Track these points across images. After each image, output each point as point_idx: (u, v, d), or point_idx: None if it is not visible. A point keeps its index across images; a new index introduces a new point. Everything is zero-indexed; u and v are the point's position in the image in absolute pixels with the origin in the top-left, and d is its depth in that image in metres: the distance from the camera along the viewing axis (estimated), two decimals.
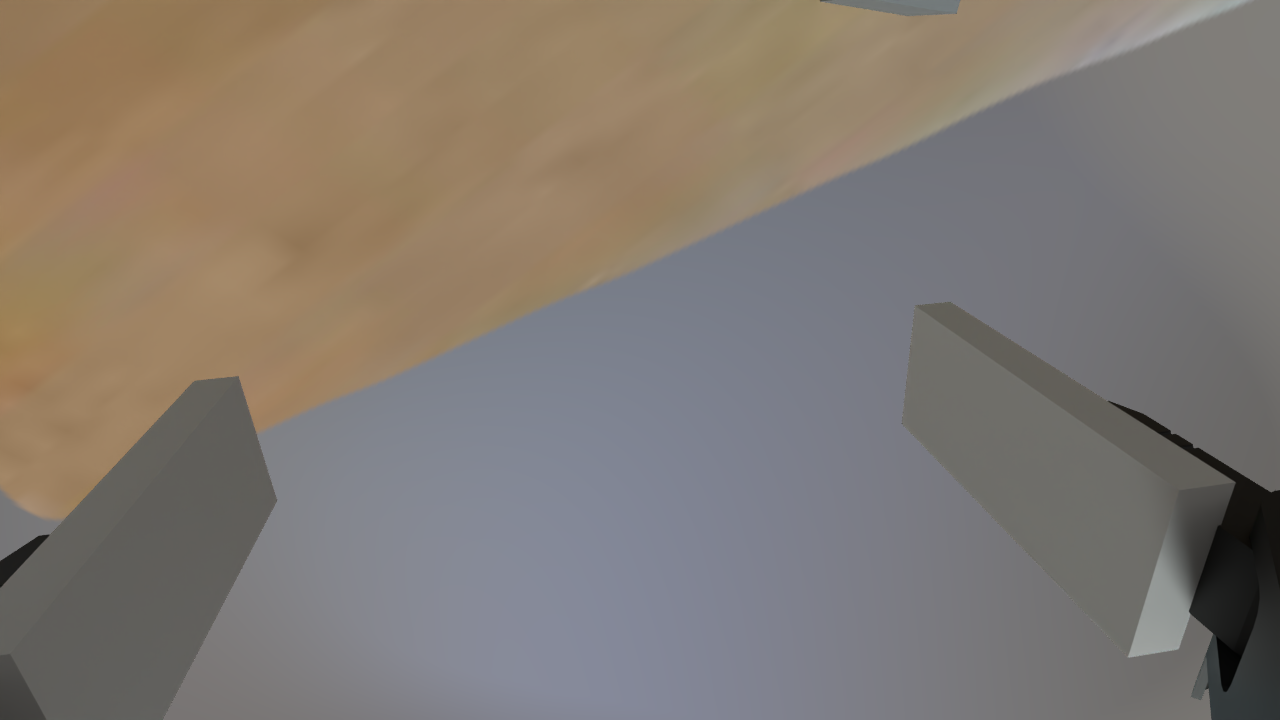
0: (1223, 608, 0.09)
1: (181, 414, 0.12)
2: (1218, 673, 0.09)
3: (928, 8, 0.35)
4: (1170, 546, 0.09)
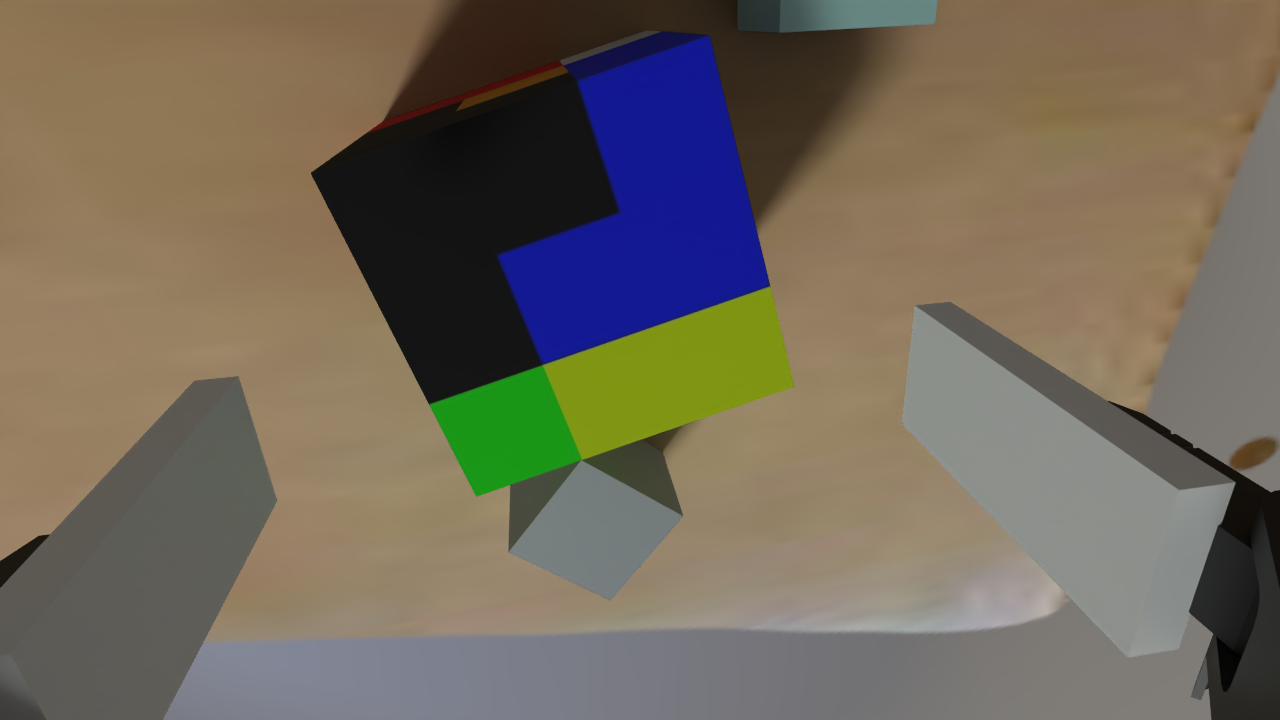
0: (1223, 608, 0.09)
1: (181, 415, 0.12)
2: (1218, 673, 0.09)
3: (582, 585, 0.30)
4: (1170, 546, 0.09)
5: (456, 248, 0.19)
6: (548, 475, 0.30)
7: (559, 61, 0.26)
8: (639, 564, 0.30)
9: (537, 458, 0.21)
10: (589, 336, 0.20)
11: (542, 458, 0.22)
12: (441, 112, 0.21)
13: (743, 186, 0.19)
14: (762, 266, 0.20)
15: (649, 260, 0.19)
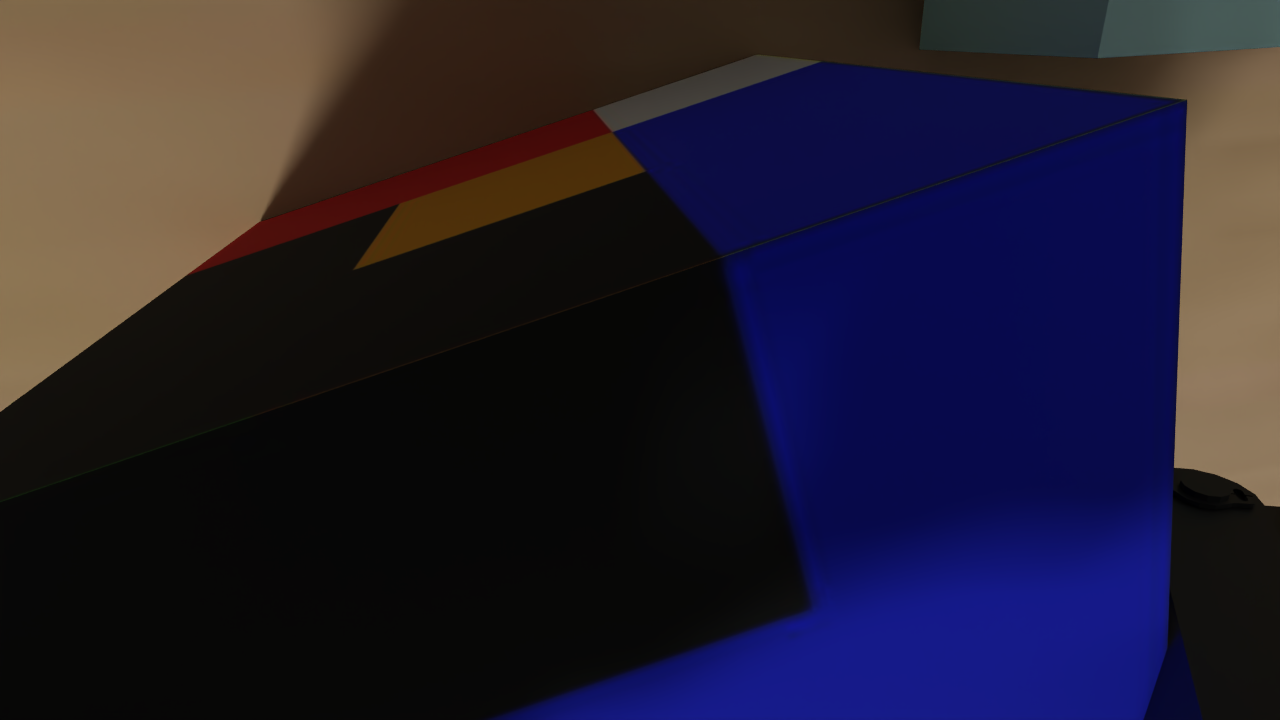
0: None
1: None
2: None
3: None
4: None
5: None
6: None
7: (595, 113, 0.13)
8: None
9: None
10: None
11: None
12: (332, 252, 0.09)
13: (1163, 522, 0.07)
14: None
15: (875, 706, 0.07)
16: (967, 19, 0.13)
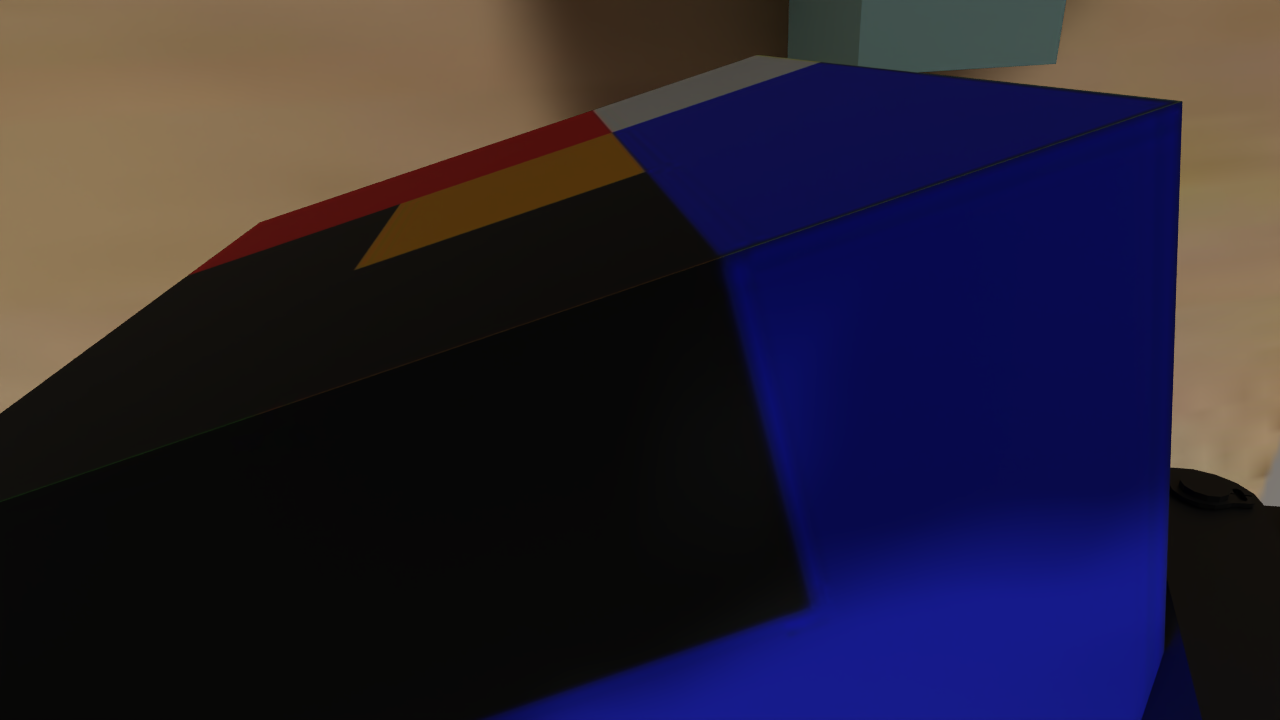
0: None
1: None
2: None
3: None
4: None
5: None
6: None
7: (595, 114, 0.13)
8: None
9: None
10: None
11: None
12: (333, 252, 0.09)
13: (1160, 521, 0.07)
14: None
15: (875, 704, 0.07)
16: (807, 51, 0.20)
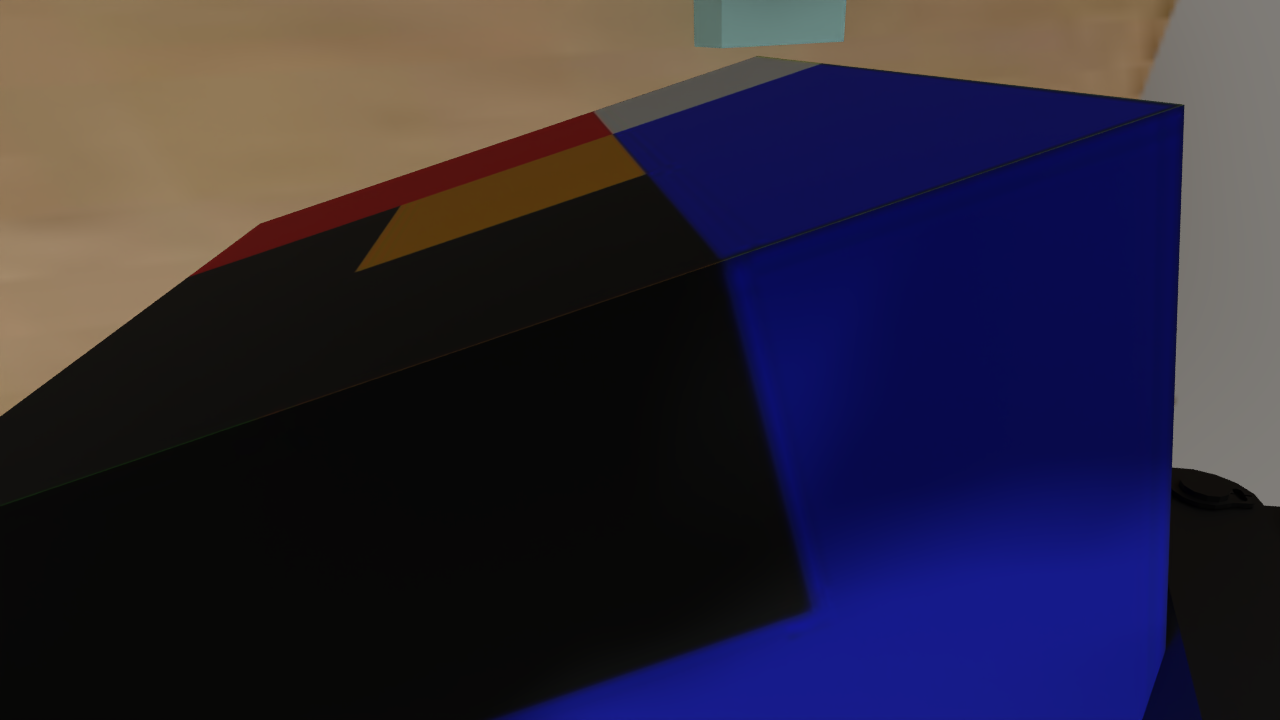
0: None
1: None
2: None
3: None
4: None
5: None
6: None
7: (596, 115, 0.13)
8: None
9: None
10: None
11: None
12: (334, 254, 0.09)
13: (1161, 524, 0.07)
14: None
15: (875, 706, 0.07)
16: (702, 33, 0.31)
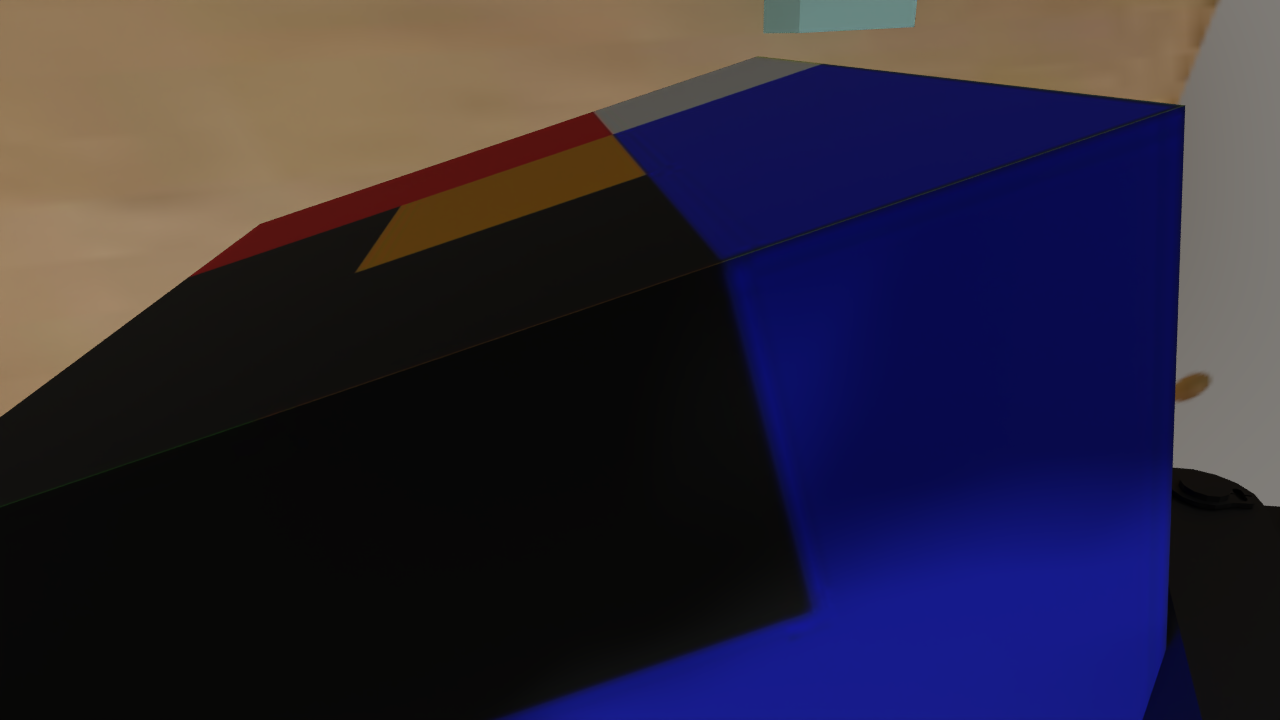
0: None
1: None
2: None
3: None
4: None
5: None
6: None
7: (596, 115, 0.13)
8: None
9: None
10: None
11: None
12: (334, 255, 0.09)
13: (1162, 525, 0.07)
14: None
15: (875, 708, 0.07)
16: (774, 20, 0.33)
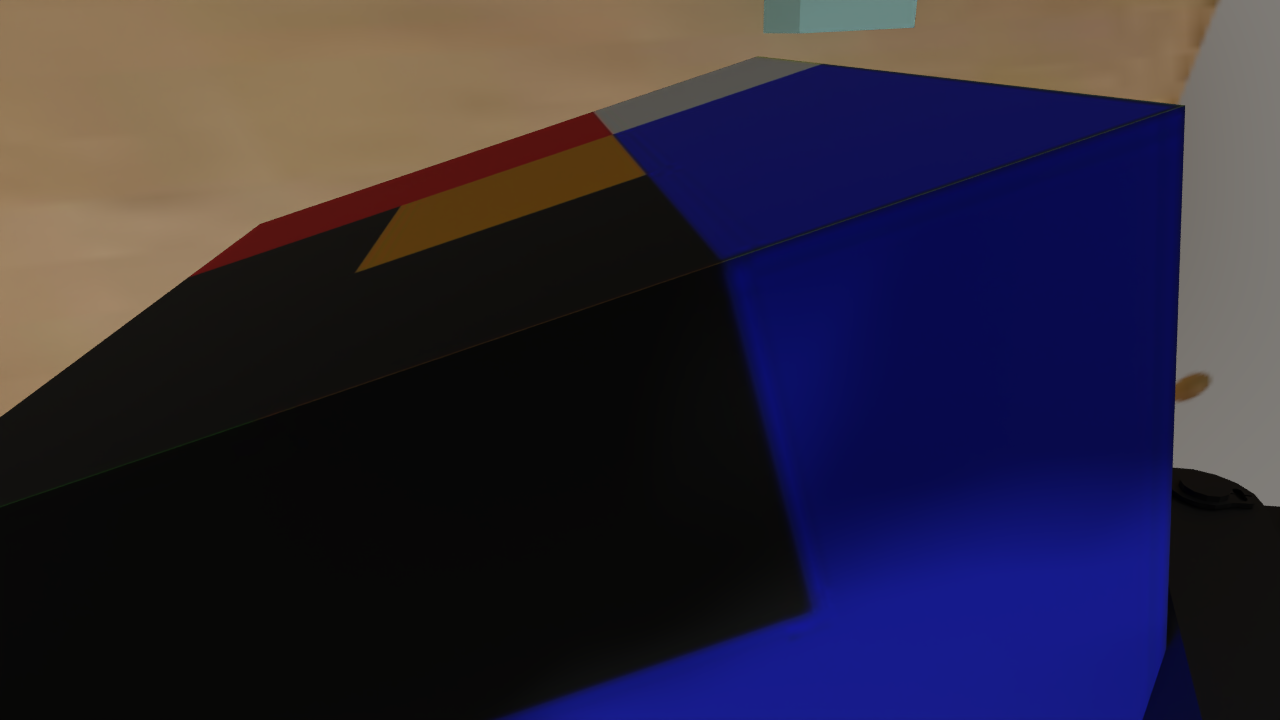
0: None
1: None
2: None
3: None
4: None
5: None
6: None
7: (596, 115, 0.13)
8: None
9: None
10: None
11: None
12: (334, 255, 0.09)
13: (1162, 525, 0.07)
14: None
15: (875, 708, 0.07)
16: (774, 20, 0.33)
